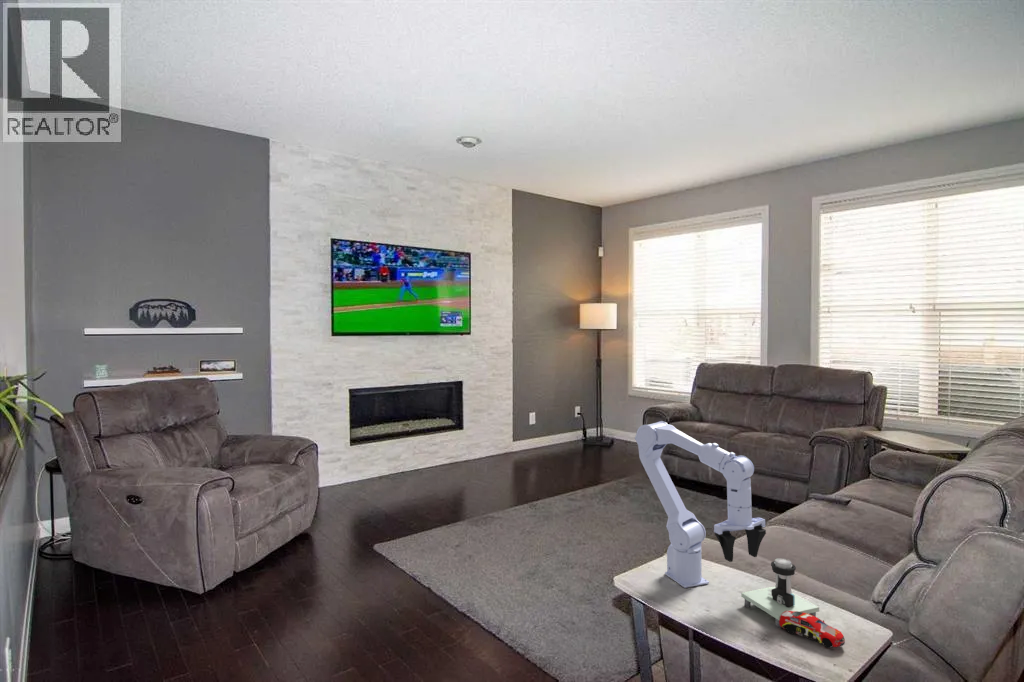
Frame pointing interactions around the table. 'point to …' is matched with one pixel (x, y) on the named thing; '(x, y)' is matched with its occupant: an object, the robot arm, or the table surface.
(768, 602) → the stand
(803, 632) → the race car
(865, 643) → the table surface
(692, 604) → the table surface
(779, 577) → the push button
